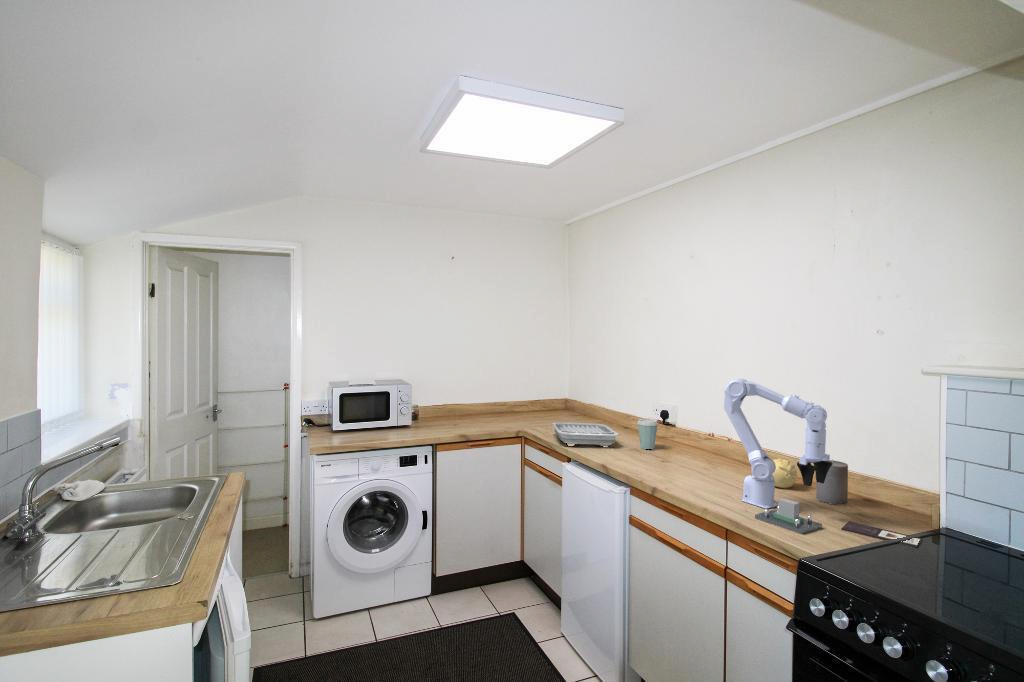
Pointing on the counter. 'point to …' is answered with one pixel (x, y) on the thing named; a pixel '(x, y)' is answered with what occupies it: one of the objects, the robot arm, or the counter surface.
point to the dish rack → (585, 433)
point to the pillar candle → (834, 484)
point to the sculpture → (784, 473)
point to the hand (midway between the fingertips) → (813, 484)
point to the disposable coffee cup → (647, 432)
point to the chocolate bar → (878, 533)
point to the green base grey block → (788, 511)
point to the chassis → (797, 527)
